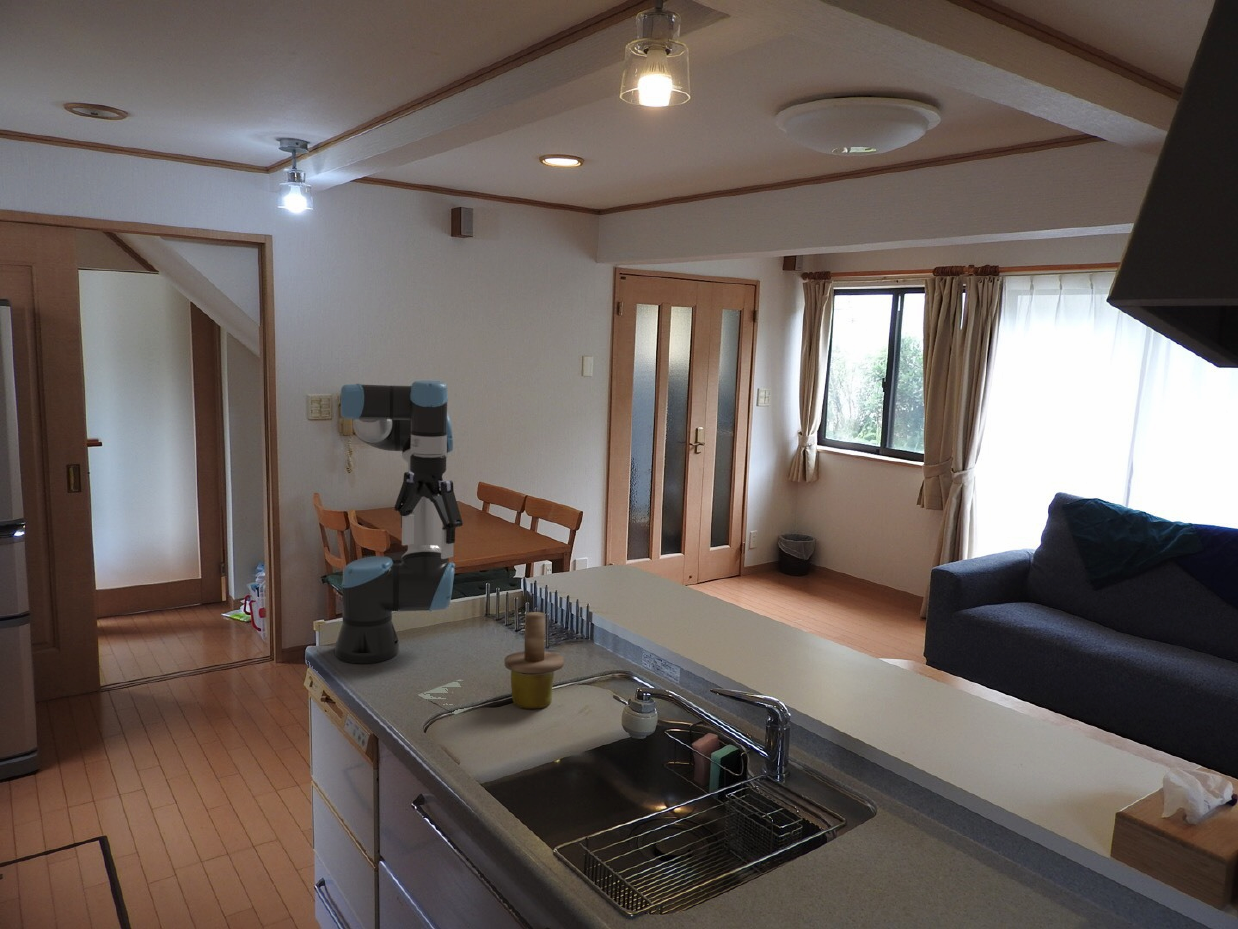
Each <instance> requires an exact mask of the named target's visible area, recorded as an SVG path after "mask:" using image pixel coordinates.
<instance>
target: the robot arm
mask: <svg viewBox="0 0 1238 929" xmlns="http://www.w3.org/2000/svg"><path fill="white" fill-rule="evenodd" d="M448 401H449V396H448V385H447V383H445V382H443V381H439V380H416V381H413V382H412V384H411V385H384V384H383V385H382V384H362V383H361V384H360V383H355V384H344V385H342V387H341V389H340V416H341V417H342V418H344V419H350V420H352V428H353V432H354V433H355V435H356V437H357V438H358V439H359V440H360V441H362V442H363V443H365V444H366V445H367V446H368V445H369V446H371V447H374V448H375V449H379V450H383V451H390V452H402V453H401V454H402V455H401V457H402V459H403V460H404V461H405V462H406V463H408V464H407V471H406V472H404V473H403V481H402V484H401V488H400V490H399V493H398V495H397V499H396V501H395V504H394V511H396V512H399V515H400V516H401V517H400V519H401V520H400V521H401V522H400V528H401V546H407V551H405V553H403V554H402V556H401V560H400V561H401V563H394V561H393V560H392V558H391V557H389V556H387V555H386V556H382V555H376V556H367V557H363V558H359V559H358V558H357V559H355V560H354V561H353V560H352V561H351V562H349V563H347V565H345V567H344V568H343V570H342V582H341V588H342V624H341V626H340V629H339V633H338V636H337V640H336V642H335V644H334V646H335V647H334V653H335V654H334V655H335V657H336V658H337V659H338V660H341V661H343V662H346V663H349V664H350V663H351V664H360V665H361V664H363V665H364V664H372V663H373V664H375V663H381V662H383V661H387V660H390V659H392V658H394V657H396V656H397V655H398V653H399V651H400V641H399V638H398V634H397V632H396V631H397V630H396V629H395V626H394V624H393V617H392V616H393V612H422V611H423V612H424V611H428V612H432V611H438V610H439V611H441V610H442V611H443V610H446V609H447V608H448V607H450V605H451V599H452V594H453V586H454V585H453V584H454V578H455V567H456V563H454V562H451V561H450V558H453V557H454V551H455V550H454V549H455V548H454V545H455V544H454V543H455V542H456V529H457V528H459V527H462V526H463V525H464V524H463V519H462V516H461V512H460V509H459V506H458V501H457V498H456V495H455V492H454V482H453V480H445V481H444V479H443V474H445V473H446V471H447V459H448V456H449V455H448V453H450V452H452V451H453V450H454V439H453V428H452V421H451V416H450V413H449V412H448Z"/></svg>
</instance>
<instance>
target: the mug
mask: <svg viewBox="0 0 1238 929" xmlns="http://www.w3.org/2000/svg"><path fill="white" fill-rule="evenodd" d="M554 672H555V671H553V672H548V673H535V674H533V673H520V672H515V671H512V670H510V684H511V685H510V686H511V687H510V688H511V698H512V702H513V704H514V705H515V706H516V707H518V708H521V709H525V710H534V709H542V708H547V707H549V706H550V705H551V703H552V702H553V685H554V677H555V676H554V675H555V673H554Z"/></svg>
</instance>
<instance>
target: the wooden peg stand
mask: <svg viewBox="0 0 1238 929" xmlns="http://www.w3.org/2000/svg"><path fill="white" fill-rule="evenodd" d="M545 644H546V613H544V612H541V611H540V612H539V611H530V612H526V613H525V614H524V648H523V650H524V651H518V652H514V653H511V654H508V655H506V657H504V667H505V668H506V669H507V670H510V671H511V670H512V671H515V672H520V673H533V674H535V673H548V672H553V671H554V672H556V671H558V670H561V669H562V668H563V667H564V666H565V659H564V657H563V656H562V655H560V654H558V653H555V652H552V651H551V652H550V651H545Z"/></svg>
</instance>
